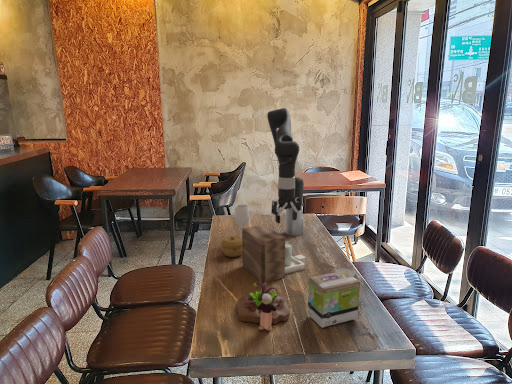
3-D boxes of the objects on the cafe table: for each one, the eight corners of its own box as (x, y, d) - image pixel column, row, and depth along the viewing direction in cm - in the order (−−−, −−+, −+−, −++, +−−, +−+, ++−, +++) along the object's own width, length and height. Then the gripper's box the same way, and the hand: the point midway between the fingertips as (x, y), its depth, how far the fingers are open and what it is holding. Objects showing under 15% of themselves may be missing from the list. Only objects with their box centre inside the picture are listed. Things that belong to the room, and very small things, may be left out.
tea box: (322, 329, 126) (323, 289, 122) (306, 314, 135) (307, 276, 131) (358, 319, 132) (361, 280, 128) (341, 305, 141) (343, 268, 137)
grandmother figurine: (255, 331, 125) (255, 296, 122) (255, 324, 128) (255, 291, 126) (278, 331, 125) (278, 296, 122) (277, 324, 128) (278, 291, 126)
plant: (238, 296, 149) (237, 269, 146) (287, 296, 148) (287, 270, 146) (233, 324, 129) (233, 295, 127) (290, 325, 129) (291, 295, 126)
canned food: (355, 295, 148) (356, 269, 145) (353, 305, 141) (354, 278, 138) (335, 292, 150) (336, 266, 148) (332, 301, 143) (333, 275, 140)
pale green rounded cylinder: (287, 260, 178) (287, 243, 176) (293, 265, 173) (294, 246, 171) (277, 263, 176) (277, 245, 174) (283, 267, 171) (283, 248, 169)
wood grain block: (263, 261, 180) (263, 224, 176) (284, 277, 163) (285, 237, 159) (242, 266, 175) (242, 228, 171) (262, 282, 159) (262, 241, 154)
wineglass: (250, 246, 199) (249, 208, 194) (233, 246, 199) (233, 208, 195) (250, 240, 208) (250, 204, 203) (235, 240, 208) (234, 204, 203)
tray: (295, 256, 185) (295, 251, 185) (312, 267, 173) (312, 261, 172) (267, 263, 178) (267, 257, 177) (282, 274, 166) (282, 268, 165)
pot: (227, 249, 196) (226, 231, 193) (248, 252, 192) (247, 233, 189) (217, 257, 185) (216, 238, 182) (239, 261, 181) (239, 241, 179)
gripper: (295, 183, 172) (294, 217, 176) (268, 186, 166) (268, 221, 170) (304, 186, 166) (304, 221, 170) (277, 190, 159) (277, 226, 163)
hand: (286, 221), depth 170 cm, fingers open, 8 cm apart
